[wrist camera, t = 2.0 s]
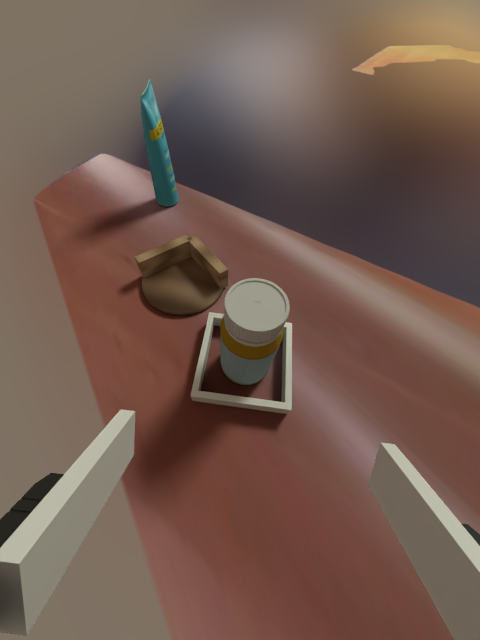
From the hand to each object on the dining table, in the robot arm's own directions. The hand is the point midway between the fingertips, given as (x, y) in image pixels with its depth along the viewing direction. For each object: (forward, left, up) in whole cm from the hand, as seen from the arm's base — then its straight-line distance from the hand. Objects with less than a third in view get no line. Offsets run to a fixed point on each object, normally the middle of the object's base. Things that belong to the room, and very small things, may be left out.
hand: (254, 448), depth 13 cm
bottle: (-7, -10, -19) cm, 22 cm away
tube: (-11, -52, -19) cm, 56 cm away
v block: (-5, -28, -19) cm, 34 cm away
